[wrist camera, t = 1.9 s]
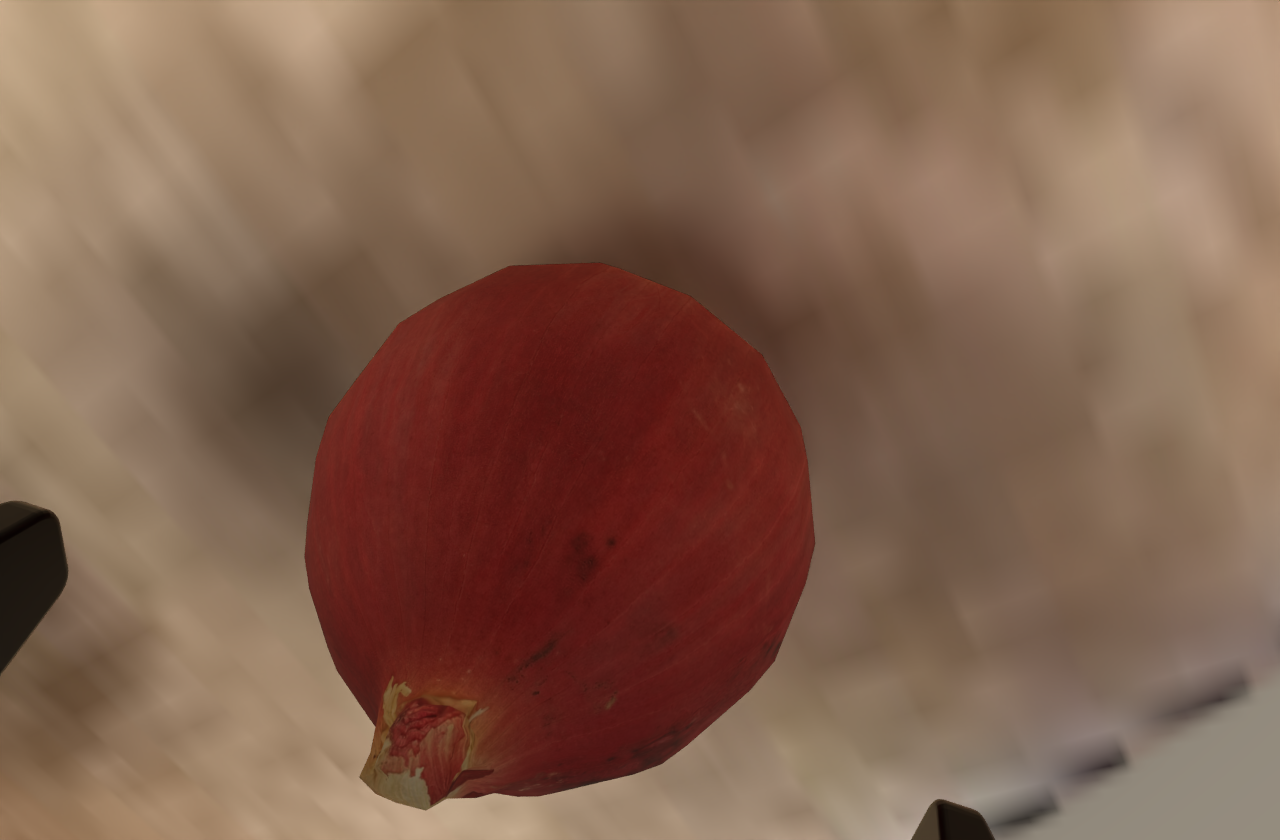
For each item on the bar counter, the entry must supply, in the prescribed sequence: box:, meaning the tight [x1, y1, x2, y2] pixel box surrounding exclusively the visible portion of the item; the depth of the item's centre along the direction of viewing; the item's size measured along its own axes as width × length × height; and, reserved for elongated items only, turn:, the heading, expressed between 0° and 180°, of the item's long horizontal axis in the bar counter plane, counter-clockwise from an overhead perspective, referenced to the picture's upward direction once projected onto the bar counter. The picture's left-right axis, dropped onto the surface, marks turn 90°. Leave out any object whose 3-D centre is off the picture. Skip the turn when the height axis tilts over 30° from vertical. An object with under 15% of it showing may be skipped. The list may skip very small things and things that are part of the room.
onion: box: [305, 263, 815, 810], centre depth 12 cm, size 6×6×8 cm
